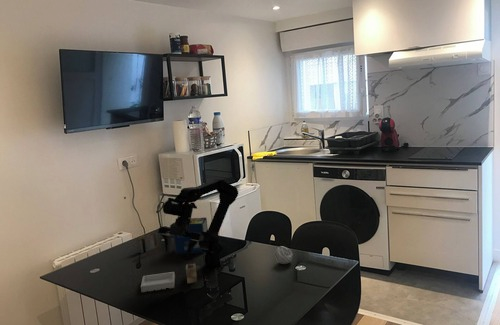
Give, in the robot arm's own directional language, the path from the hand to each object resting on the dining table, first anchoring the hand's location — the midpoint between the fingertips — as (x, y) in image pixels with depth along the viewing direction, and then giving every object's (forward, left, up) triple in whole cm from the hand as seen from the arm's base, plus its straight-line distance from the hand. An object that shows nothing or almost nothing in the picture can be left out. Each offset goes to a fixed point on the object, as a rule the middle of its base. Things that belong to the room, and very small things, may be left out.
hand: (176, 254), depth 179 cm
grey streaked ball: (-46, -3, -12) cm, 48 cm away
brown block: (-5, +1, -12) cm, 13 cm away
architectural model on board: (+17, -48, -12) cm, 52 cm away
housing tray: (+9, +1, -12) cm, 15 cm away
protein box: (-6, -38, -12) cm, 40 cm away
